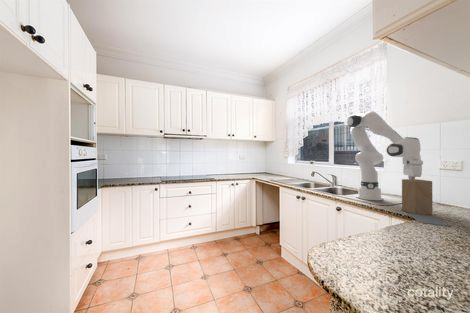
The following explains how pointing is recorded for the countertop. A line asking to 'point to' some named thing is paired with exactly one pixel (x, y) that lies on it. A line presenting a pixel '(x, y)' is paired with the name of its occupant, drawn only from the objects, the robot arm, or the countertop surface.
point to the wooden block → (417, 196)
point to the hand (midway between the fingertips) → (411, 182)
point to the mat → (429, 219)
